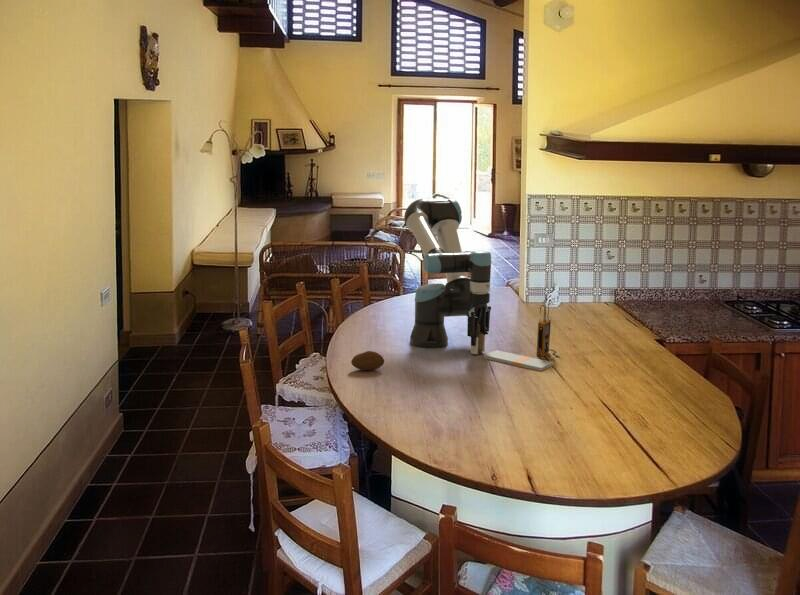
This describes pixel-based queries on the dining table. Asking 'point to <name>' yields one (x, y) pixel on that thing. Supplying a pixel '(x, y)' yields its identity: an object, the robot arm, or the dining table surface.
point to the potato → (367, 361)
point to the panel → (518, 360)
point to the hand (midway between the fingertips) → (477, 352)
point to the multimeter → (544, 336)
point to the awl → (479, 342)
